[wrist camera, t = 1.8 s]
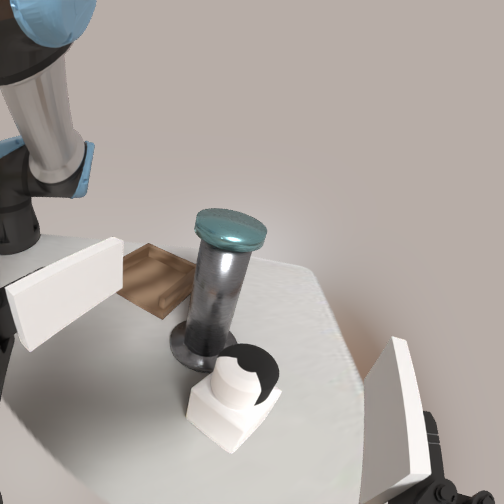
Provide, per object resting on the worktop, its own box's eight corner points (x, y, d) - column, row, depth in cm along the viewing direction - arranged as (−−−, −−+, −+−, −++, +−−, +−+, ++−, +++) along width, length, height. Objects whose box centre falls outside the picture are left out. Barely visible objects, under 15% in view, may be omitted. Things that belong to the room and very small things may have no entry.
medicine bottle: (221, 388, 34) (242, 325, 29) (265, 419, 31) (300, 362, 26) (184, 418, 28) (195, 358, 23) (230, 455, 25) (260, 407, 20)
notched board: (101, 283, 45) (100, 267, 43) (146, 255, 57) (148, 241, 56) (162, 319, 42) (163, 303, 41) (202, 282, 55) (205, 267, 53)
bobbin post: (157, 350, 36) (169, 218, 28) (190, 315, 45) (213, 199, 36) (219, 383, 34) (260, 254, 26) (245, 340, 43) (284, 225, 35)
